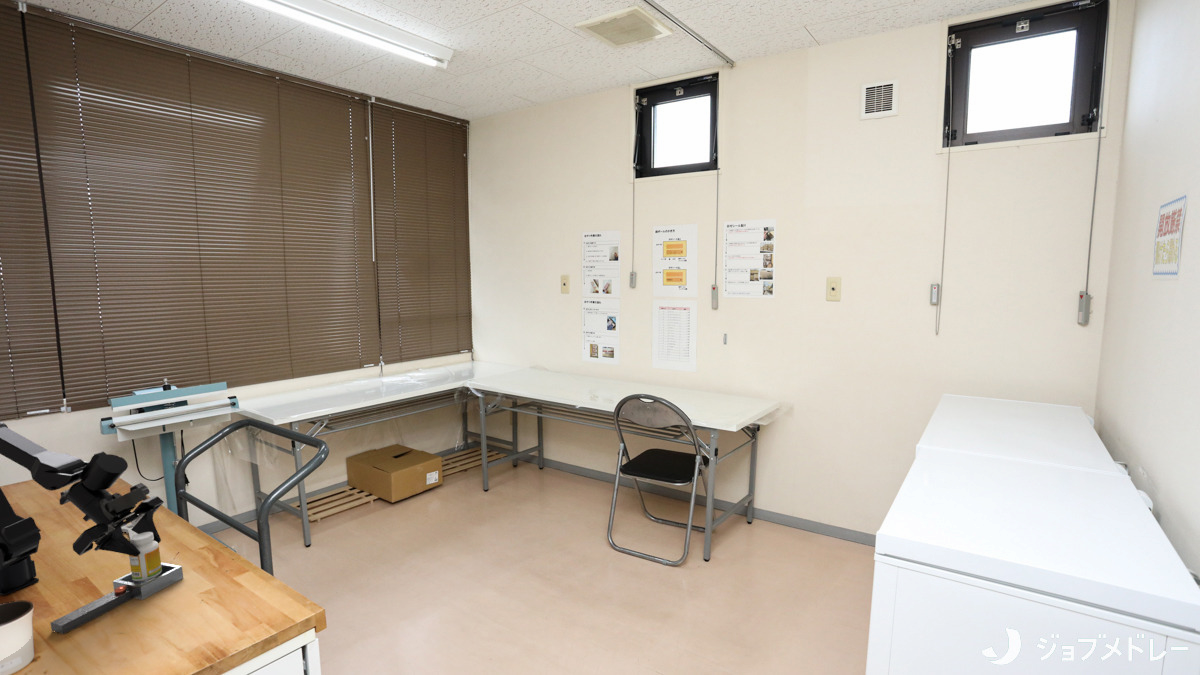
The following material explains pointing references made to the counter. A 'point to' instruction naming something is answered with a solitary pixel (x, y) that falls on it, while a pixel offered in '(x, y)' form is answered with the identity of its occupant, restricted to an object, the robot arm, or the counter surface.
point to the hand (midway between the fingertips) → (149, 548)
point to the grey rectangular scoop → (119, 597)
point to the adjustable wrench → (129, 530)
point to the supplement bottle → (145, 557)
